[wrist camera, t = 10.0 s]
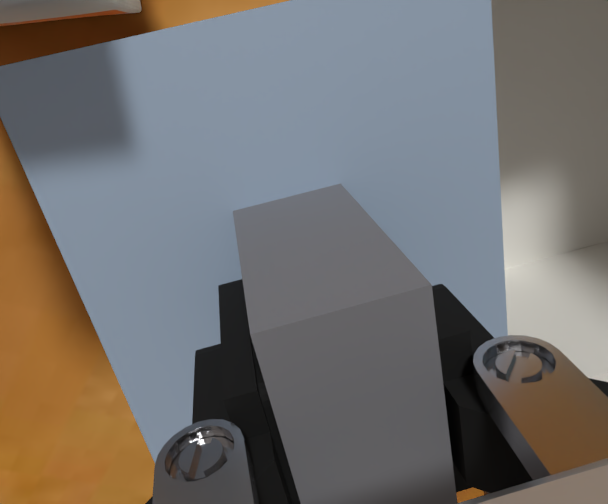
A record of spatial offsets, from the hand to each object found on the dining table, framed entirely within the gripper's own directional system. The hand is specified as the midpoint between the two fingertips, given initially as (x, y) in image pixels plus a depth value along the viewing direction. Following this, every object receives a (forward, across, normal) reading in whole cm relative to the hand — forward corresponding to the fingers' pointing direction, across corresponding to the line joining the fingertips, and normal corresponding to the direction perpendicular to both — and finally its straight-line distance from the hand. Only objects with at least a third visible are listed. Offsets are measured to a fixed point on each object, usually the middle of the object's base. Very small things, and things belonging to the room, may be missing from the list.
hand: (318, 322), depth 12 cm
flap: (+1, 0, 0) cm, 1 cm away
